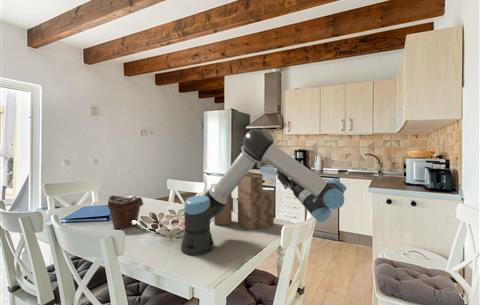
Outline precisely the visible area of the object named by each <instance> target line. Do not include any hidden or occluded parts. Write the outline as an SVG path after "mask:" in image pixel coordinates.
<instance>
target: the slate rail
mask: <svg viewBox="0 0 480 305" xmlns="http://www.w3.org/2000/svg"><path fill="white" fill-rule="evenodd" d="M259 173H260V174H267V175H273V176H277V177H278V173H277V172H276V170H275V167H273V166H272V167H271V166H260V172H259ZM287 177H288V176H287ZM288 178H289V177H288Z"/></svg>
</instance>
